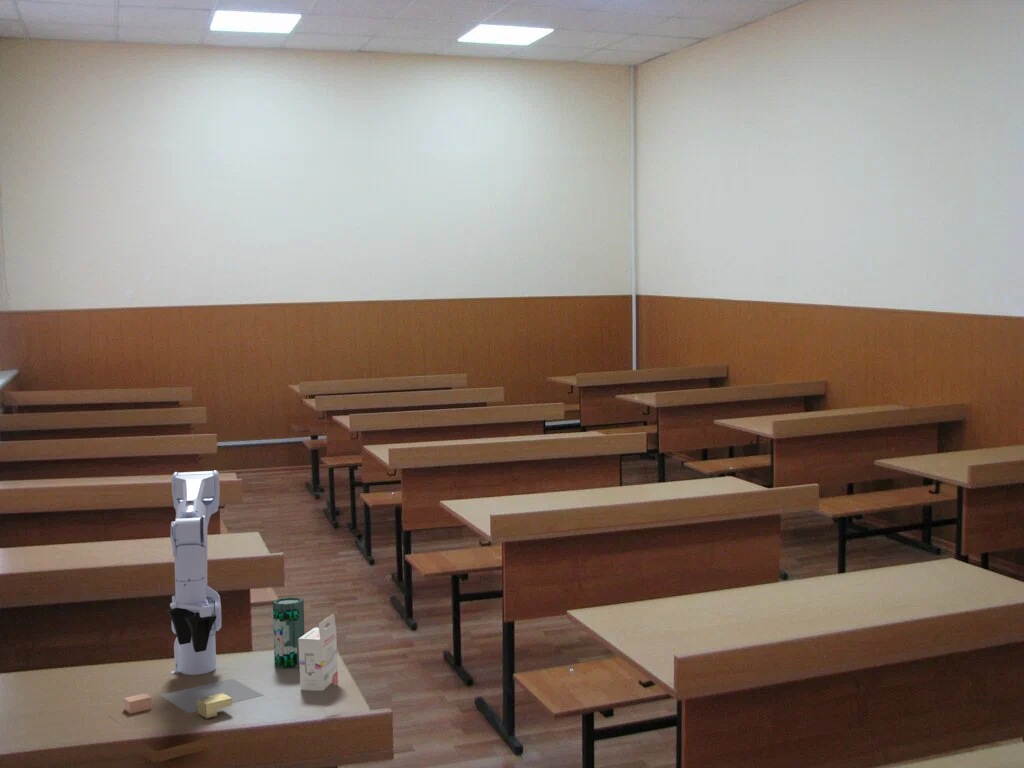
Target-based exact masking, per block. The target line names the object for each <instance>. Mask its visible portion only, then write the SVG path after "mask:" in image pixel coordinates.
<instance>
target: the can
mask: <svg viewBox="0 0 1024 768" xmlns="http://www.w3.org/2000/svg"><path fill="white" fill-rule="evenodd" d="M304 602H305V601H304V599H303V598H301V597H297V596H296V597H290V596H289V597H281V598H275V599H274V600H273V601H272V618H273V619H272V623H273V651H274V652H273V655H274V657H273V658H274V666H275V668H279V669H287V670H288V669H293V668H295V669H296V668H298V669H300V666H299V644H298V639H299V638H300V637H302V636H303V635H305V634H306V633H305V603H304Z"/></svg>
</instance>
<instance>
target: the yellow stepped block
mask: <svg viewBox="0 0 1024 768" xmlns="http://www.w3.org/2000/svg"><path fill="white" fill-rule="evenodd" d="M232 706H233V703H232V698H231V697H229V696H228V695H226V694H224V693H220V694H216V695H211V696H207V697H203V698H199V699H197V710H198V712H197V713H198V715H200V716H202V717H203V718H205V719H210V718H214V717H218V710H219V709H223V708H228V707H232Z"/></svg>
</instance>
